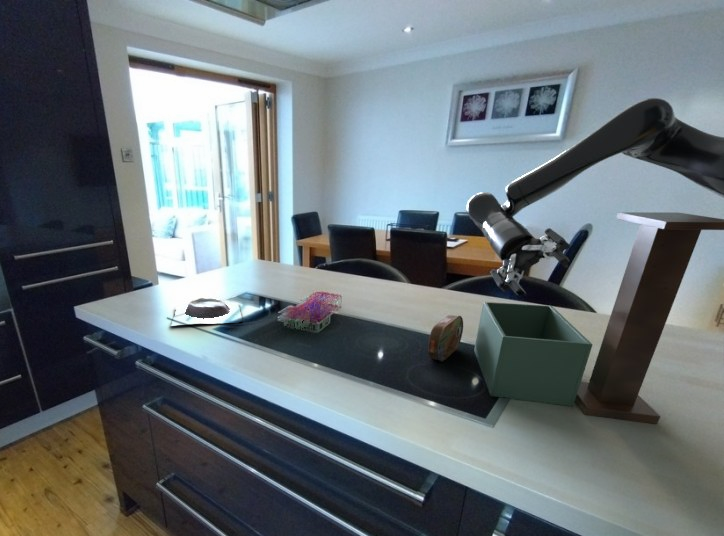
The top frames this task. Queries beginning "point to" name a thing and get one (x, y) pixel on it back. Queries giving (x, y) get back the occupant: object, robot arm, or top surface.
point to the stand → (641, 313)
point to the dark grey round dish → (207, 308)
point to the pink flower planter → (311, 310)
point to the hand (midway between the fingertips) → (543, 279)
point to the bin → (530, 353)
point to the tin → (445, 337)
